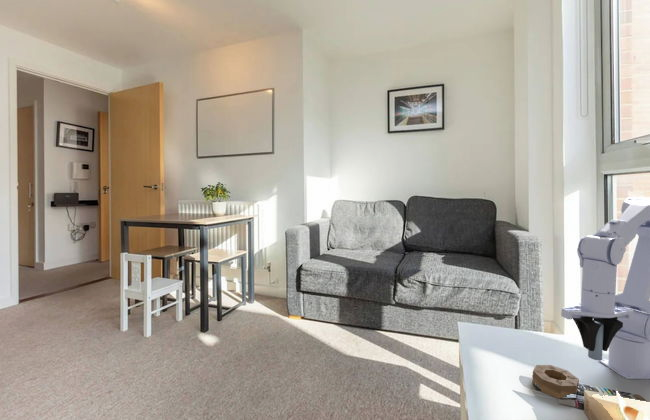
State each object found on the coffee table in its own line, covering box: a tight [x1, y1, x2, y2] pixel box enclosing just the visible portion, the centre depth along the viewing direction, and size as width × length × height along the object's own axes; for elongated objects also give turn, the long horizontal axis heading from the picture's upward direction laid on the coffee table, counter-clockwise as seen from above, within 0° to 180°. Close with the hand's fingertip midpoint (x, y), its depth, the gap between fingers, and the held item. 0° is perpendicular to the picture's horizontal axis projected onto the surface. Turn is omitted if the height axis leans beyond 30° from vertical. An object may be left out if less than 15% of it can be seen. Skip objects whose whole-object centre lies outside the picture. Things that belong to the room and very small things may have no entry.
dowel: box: [587, 321, 604, 361], centre depth 71 cm, size 2×2×8 cm
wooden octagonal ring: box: [532, 364, 580, 399], centre depth 72 cm, size 8×8×3 cm
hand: (595, 348), depth 71 cm, fingers closed on dowel, 2 cm apart
